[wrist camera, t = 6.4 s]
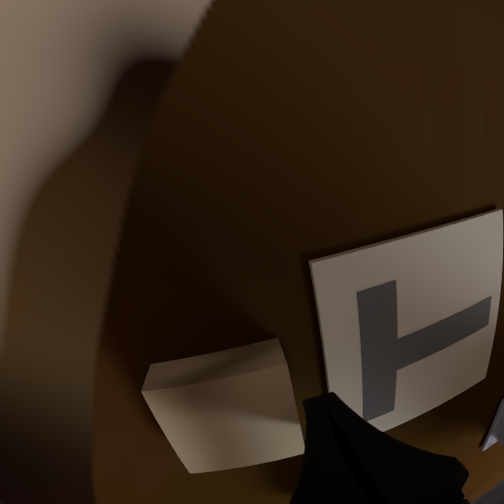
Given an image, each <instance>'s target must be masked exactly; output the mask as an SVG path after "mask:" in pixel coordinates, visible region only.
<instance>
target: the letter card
mask: <svg viewBox="0 0 504 504" xmlns="http://www.w3.org/2000/svg"><path fill="white" fill-rule="evenodd" d="M502 260H503V213H502V209H495V210H492V211H488V212H485V213H482V214H478V215H475V216H471V217H468V218H464V219H461V220H457V221H454V222H451V223H447V224H443V225H440V226H436V227H433V228H429V229H426V230H422V231H419V232H415V233H411V234H408V235H404V236H400V237H397V238H393V239H389V240H386V241H382V242H378V243H375V244H371V245H367V246H363V247H360V248H356V249H352V250H348V251H344V252H341V253H337V254H333V255H329V256H325V257H321V258H317V259H313V260H310V261H309V266H310V272H311V278H312V284H313V290H314V296H315V302H316V308H317V315H318V321H319V328H320V335H321V342H322V349H323V357H324V364H325V372H326V380H327V388H328V393H329V392H335V393H336V394H337V396H338V397H339V398H340V399H341V400H342V401H343V402H344V403H345V404H346V405H348V406H349V407H350V408H351V409H352V410H353V411H354V412H356V413H357V414H358V415H359V416H361V417H362V418H363V419H364V420H366V421H367V422H369V423H370V424H371V425H373V426H374V427H376V428H377V429H379V430H380V431H382V432H384V431H386V430H389V429H391V428H393V427H396V426H398V425H400V424H402V423H404V422H407V421H409V420H411V419H413V418H415V417H417V416H419V415H421V414H423V413H425V412H427V411H429V410H431V409H433V408H435V407H437V406H439V405H441V404H442V403H444V402H446V401H448V400H450V399H451V398H453V397H455V396H457V395H458V394H460V393H462V392H463V391H465V390H467V389H468V388H470V387H472V386H473V385H475V384H476V383H478V382H480V381H481V380H483V379H484V378H485V376H486V372H487V368H488V364H489V360H490V355H491V350H492V345H493V340H494V334H495V329H496V322H497V315H498V308H499V300H500V290H501V278H502Z"/></svg>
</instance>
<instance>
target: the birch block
mask: <svg viewBox="0 0 504 504" xmlns="http://www.w3.org/2000/svg"><path fill="white" fill-rule="evenodd" d="M141 392H142V394H143V396H144V398H145V400H146V402H147V404H148V406H149V407H150V409H151V411H152V413H153V415H154V416H155V418H156V420H157V422H158V423H159V425H160V427H161V429H162V430H163V432H164V434H165V435H166V437H167V439H168V440H169V442H170V443H171V445H172V447H173V448H174V450H175V451H176V453H177V455H178V456H179V458H180V459H181V461H182V462H183V464H184V465H185V467H186V468H187V470H188V471H189V473H201V472H210V471H218V470H225V469H232V468H239V467H245V466H250V465H256V464H261V463H266V462H271V461H275V460H280V459H284V458H288V457H292V456H296V455H300V454H304V449H305V446H304V441H303V437H302V432H301V427H300V422H299V417H298V412H297V408H296V403H295V398H294V393H293V389H292V384H291V379H290V375H289V370H288V365H287V362H286V359H285V356H284V353H283V350H282V348H281V345H280V342H279V339H278V338H274V339H270V340H266V341H262V342H258V343H254V344H250V345H245V346H241V347H237V348H232V349H228V350H223V351H218V352H214V353H209V354H204V355H199V356H194V357H189V358H183V359H178V360H172V361H167V362H161V363H155V364H151V365H150V368H149V370H148V373H147V376H146V379H145V382H144V385H143V388H142V390H141Z"/></svg>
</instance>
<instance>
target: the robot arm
mask: <svg viewBox="0 0 504 504" xmlns="http://www.w3.org/2000/svg"><path fill="white" fill-rule="evenodd" d="M303 407H304V412H305V418H306V441H305V449H304V456H303V462H302V466H301V470H300V474H299V478H298V481H297V484H296V487H295V490H294V493H293V495H292V498H291V500H290V503H289V504H466V503H465V501H464V500H463V498H464V494H463V492H462V491H461V489H462V487H463V486H464V484H465V482H466V481H467V478H468V476H469V472H468V471H467V469H466V468H465V467H464V465H463V464H462V463H461V462H460V461H458V460H457V459H456V458H455V457H450V456H445V455H439V454H435V453H431V452H428V451H424V450H421V449H419V448H416V447H413V446H411V445H408V444H405V443H403V442H401V441H399V440H397V439H395V438H393V437H391V436H389V435H387V434H385V433H384V432H382V431H380V430H379V429H377V428H376V427H374V426H373V425H371V424H370V423H369V422H367V421H366V420H364V419H363V418H362V417H361V416H359V415H358V414H357V413H356V412H354V411H353V410H352V409H351V408H350V407H349V406H348V405H346V404H345V403H344V402H343V401H342V400H341V399H340V398H339V397H338V396H337V394H336V393H335V392H329V393H326V394H322V395H319V396H316V397H312V398H309V399H305V400H304V401H303ZM496 441H498V442H499V443H500V444H501V445H502V446H503V447H504V398H503V399H502V400H501V402H500V405H499V408H498V410H497V413H496V415H495V418H494V420H493V423H492V425H491V428H490V430H489V432H488V435H487V437H486V439H485V441H484V443H483V446H482V448H481V449H482V450H483V451H484V450H486V449H487V448H488V447H490V446H491V445H492V444H494V443H495V442H496ZM470 504H504V479H503V480H502V481H501V482H500V483H498V484H497V485H496V486H494V487H493V488H492V489H490V490H489V491H488V492H486V493H485V494H483V495H482V496H481V497H479V498H478V499H476V500H475V501H473V502H472V503H470Z"/></svg>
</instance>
